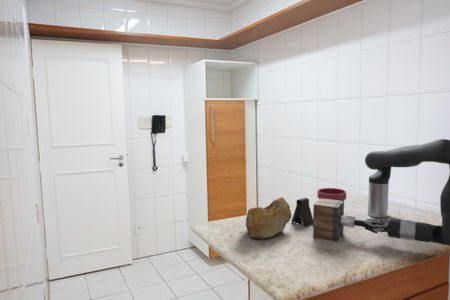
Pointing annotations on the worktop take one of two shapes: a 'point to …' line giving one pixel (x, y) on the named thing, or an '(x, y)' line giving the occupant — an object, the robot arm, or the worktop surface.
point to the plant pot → (332, 194)
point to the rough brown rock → (268, 219)
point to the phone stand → (303, 213)
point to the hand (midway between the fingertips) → (354, 222)
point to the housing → (327, 219)
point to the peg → (346, 221)
